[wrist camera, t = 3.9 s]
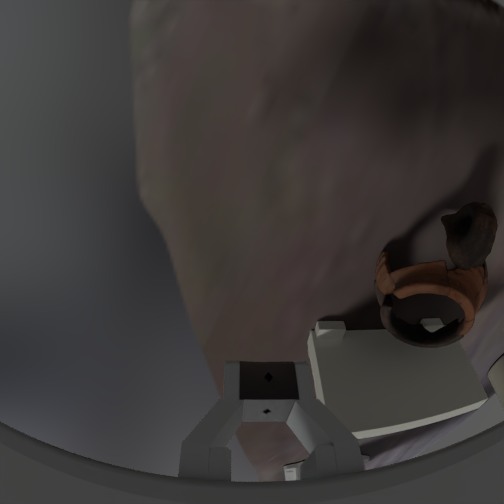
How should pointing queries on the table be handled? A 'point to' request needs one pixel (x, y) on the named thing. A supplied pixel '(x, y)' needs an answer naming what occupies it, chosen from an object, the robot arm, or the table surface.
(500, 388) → the travel mug
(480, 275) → the pottery mug
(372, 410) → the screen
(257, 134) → the table surface
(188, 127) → the table surface
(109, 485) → the robot arm
